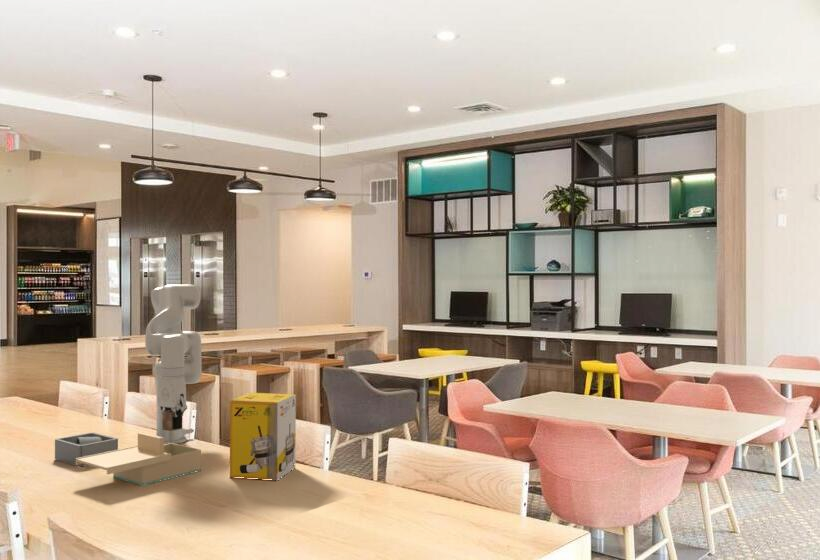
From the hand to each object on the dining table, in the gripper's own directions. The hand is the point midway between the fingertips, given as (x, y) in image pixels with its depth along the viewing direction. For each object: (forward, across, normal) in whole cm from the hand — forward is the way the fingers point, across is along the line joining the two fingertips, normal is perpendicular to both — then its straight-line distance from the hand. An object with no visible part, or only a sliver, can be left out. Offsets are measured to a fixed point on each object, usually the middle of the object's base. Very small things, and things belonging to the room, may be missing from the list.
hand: (172, 426), depth 253 cm
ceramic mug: (+15, -38, -8) cm, 42 cm away
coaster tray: (+14, -36, -9) cm, 40 cm away
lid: (+8, 0, -18) cm, 19 cm away
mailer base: (+14, 0, -5) cm, 15 cm away
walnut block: (+1, 0, 0) cm, 1 cm away
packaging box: (+15, +26, +17) cm, 34 cm away
